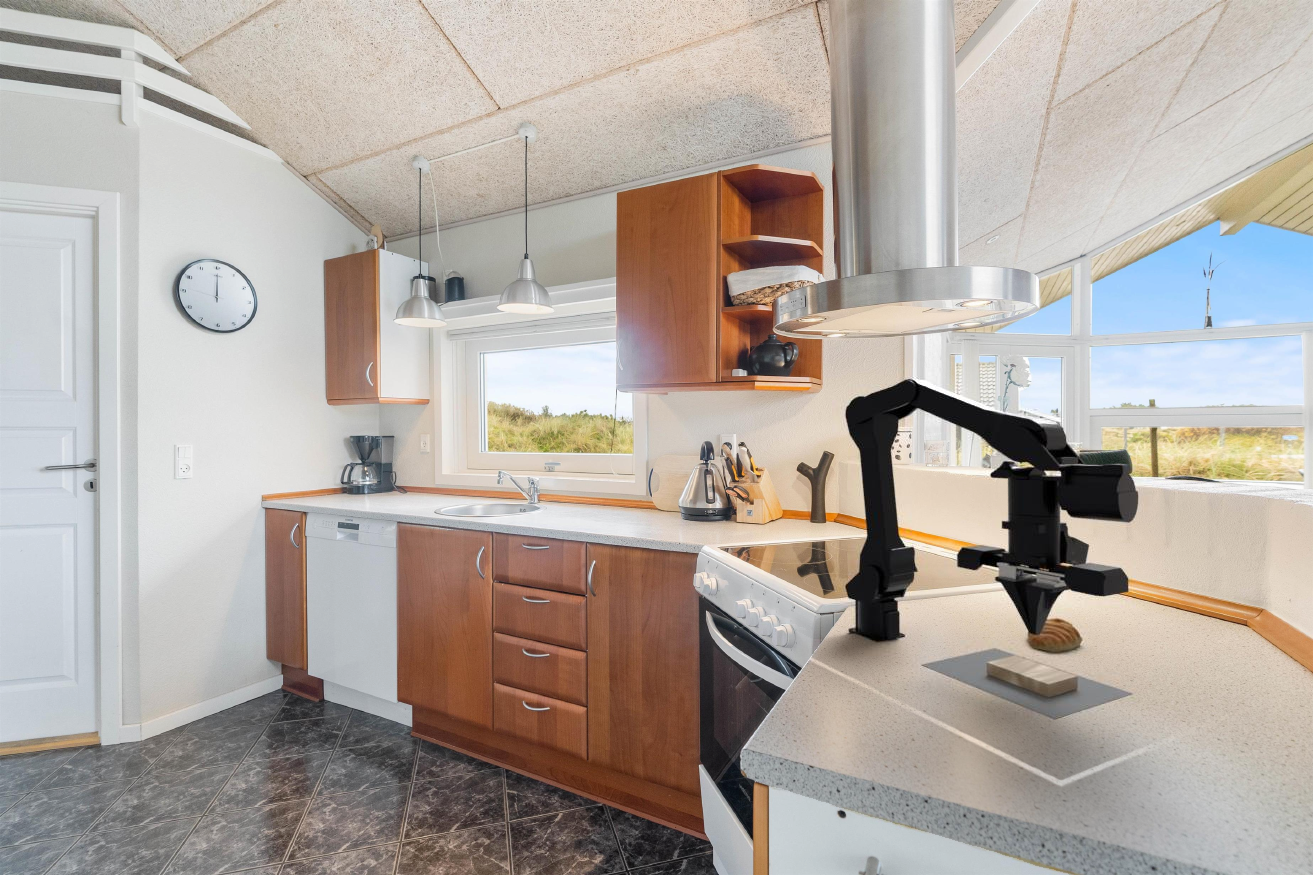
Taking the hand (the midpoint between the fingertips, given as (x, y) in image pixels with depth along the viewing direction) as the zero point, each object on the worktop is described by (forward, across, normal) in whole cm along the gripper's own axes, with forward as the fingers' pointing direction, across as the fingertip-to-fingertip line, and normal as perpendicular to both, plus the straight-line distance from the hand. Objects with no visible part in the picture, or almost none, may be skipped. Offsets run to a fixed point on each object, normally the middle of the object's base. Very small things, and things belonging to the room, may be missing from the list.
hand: (1034, 634), depth 75 cm
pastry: (+7, +9, -19) cm, 22 cm away
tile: (+6, +5, 0) cm, 7 cm away
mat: (+7, +2, 0) cm, 7 cm away
